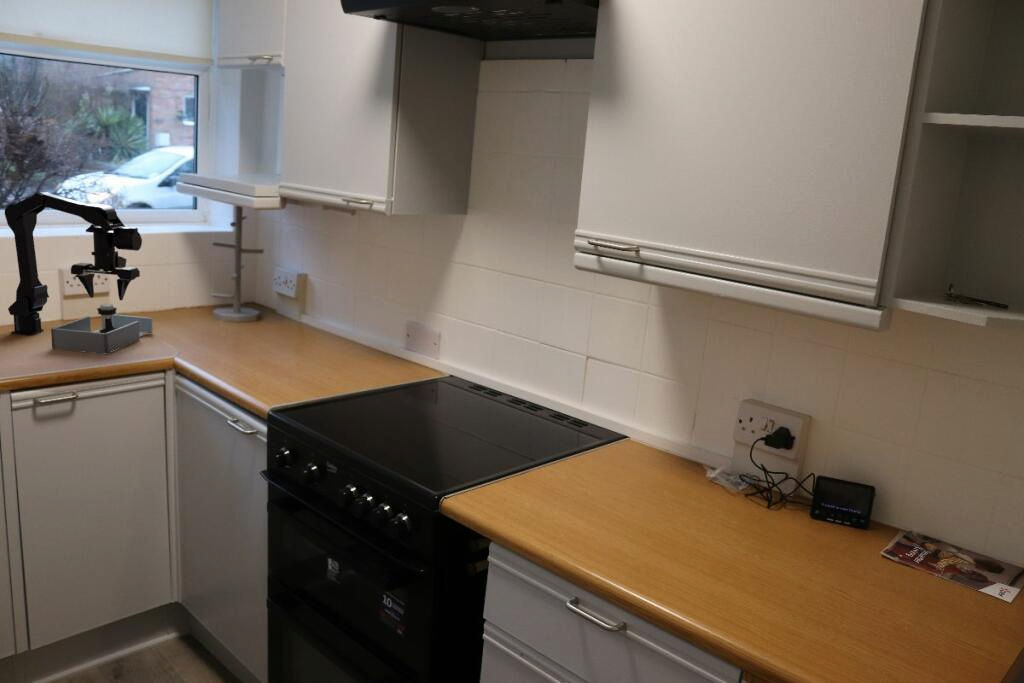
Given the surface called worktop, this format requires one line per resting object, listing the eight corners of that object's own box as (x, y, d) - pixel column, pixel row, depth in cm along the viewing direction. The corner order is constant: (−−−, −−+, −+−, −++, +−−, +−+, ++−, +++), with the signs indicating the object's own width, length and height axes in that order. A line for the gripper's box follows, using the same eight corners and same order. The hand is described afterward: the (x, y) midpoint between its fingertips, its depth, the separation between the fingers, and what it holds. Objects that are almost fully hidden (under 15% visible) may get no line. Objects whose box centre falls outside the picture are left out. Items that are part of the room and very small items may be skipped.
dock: (88, 334, 254) (87, 316, 252) (139, 339, 253) (139, 321, 251) (52, 348, 236) (51, 328, 235) (107, 354, 235) (106, 334, 234)
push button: (102, 341, 245) (101, 308, 243) (90, 338, 247) (89, 306, 245) (121, 337, 251) (120, 305, 249) (109, 334, 253) (108, 302, 251)
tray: (103, 328, 262) (102, 313, 260) (152, 333, 261) (152, 318, 260) (69, 341, 244) (68, 325, 243) (122, 346, 243) (121, 330, 242)
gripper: (148, 247, 251) (149, 296, 254) (90, 242, 252) (92, 291, 255) (129, 251, 240) (130, 303, 243) (68, 246, 241) (71, 297, 244)
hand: (106, 298), depth 247 cm, fingers open, 9 cm apart
